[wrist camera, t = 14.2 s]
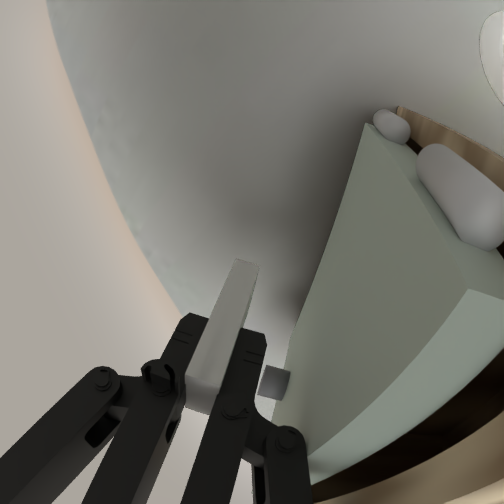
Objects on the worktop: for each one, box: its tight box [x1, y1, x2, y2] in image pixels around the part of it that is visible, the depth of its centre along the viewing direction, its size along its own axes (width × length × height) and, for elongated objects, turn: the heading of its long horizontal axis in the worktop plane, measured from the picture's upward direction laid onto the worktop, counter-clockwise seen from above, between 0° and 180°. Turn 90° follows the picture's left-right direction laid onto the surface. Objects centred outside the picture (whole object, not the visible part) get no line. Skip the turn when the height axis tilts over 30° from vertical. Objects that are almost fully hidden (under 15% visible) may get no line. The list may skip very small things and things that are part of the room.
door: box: [252, 109, 504, 494], centre depth 13 cm, size 18×3×13 cm, turn 171°
